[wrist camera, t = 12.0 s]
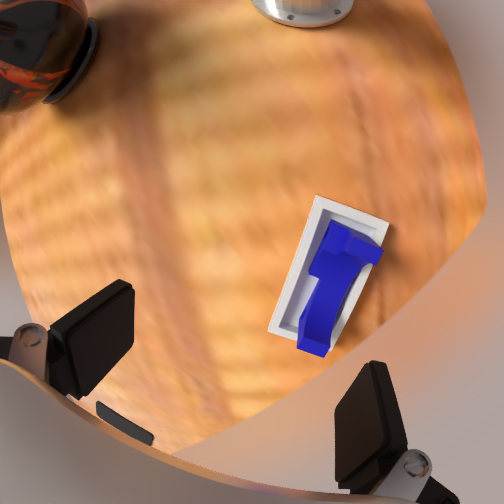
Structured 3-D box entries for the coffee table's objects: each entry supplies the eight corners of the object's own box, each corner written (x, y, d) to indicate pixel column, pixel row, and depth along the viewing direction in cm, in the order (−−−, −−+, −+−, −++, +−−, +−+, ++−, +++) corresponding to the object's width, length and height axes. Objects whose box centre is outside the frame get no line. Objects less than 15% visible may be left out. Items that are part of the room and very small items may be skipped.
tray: (315, 194, 27) (316, 195, 25) (383, 220, 27) (389, 223, 25) (269, 322, 32) (267, 331, 30) (330, 342, 31) (330, 351, 30)
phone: (149, 447, 47) (96, 415, 48) (151, 445, 48) (98, 413, 49) (153, 435, 45) (95, 400, 46) (154, 432, 46) (97, 398, 46)
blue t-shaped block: (331, 218, 27) (338, 229, 22) (368, 235, 27) (383, 250, 21) (287, 314, 31) (282, 342, 25) (321, 327, 31) (323, 357, 25)
